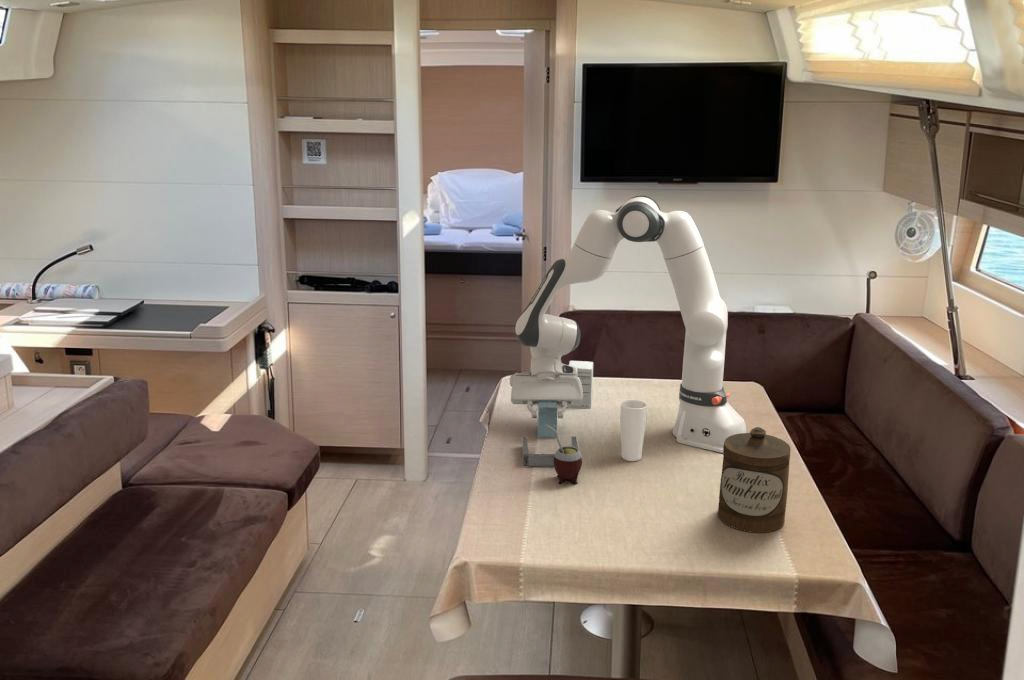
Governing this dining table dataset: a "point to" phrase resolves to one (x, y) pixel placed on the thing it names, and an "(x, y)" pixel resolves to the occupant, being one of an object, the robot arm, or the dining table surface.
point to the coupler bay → (541, 455)
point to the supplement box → (584, 381)
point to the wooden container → (754, 481)
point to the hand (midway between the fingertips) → (547, 417)
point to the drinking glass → (632, 429)
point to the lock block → (547, 419)
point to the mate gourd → (566, 462)
